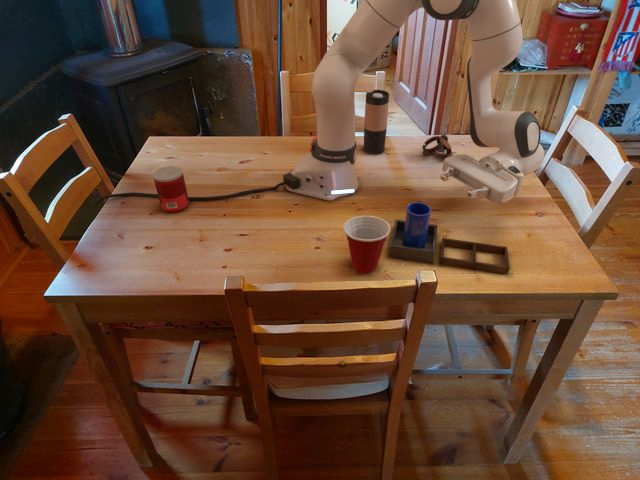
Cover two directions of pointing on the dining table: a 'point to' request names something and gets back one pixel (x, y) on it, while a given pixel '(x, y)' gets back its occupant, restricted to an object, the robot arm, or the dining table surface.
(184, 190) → the canned food
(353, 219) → the plastic cup
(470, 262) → the brown divided tray
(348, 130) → the robot arm
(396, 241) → the dark brown square tray
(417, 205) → the blue cup
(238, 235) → the dining table surface
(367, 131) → the travel mug
